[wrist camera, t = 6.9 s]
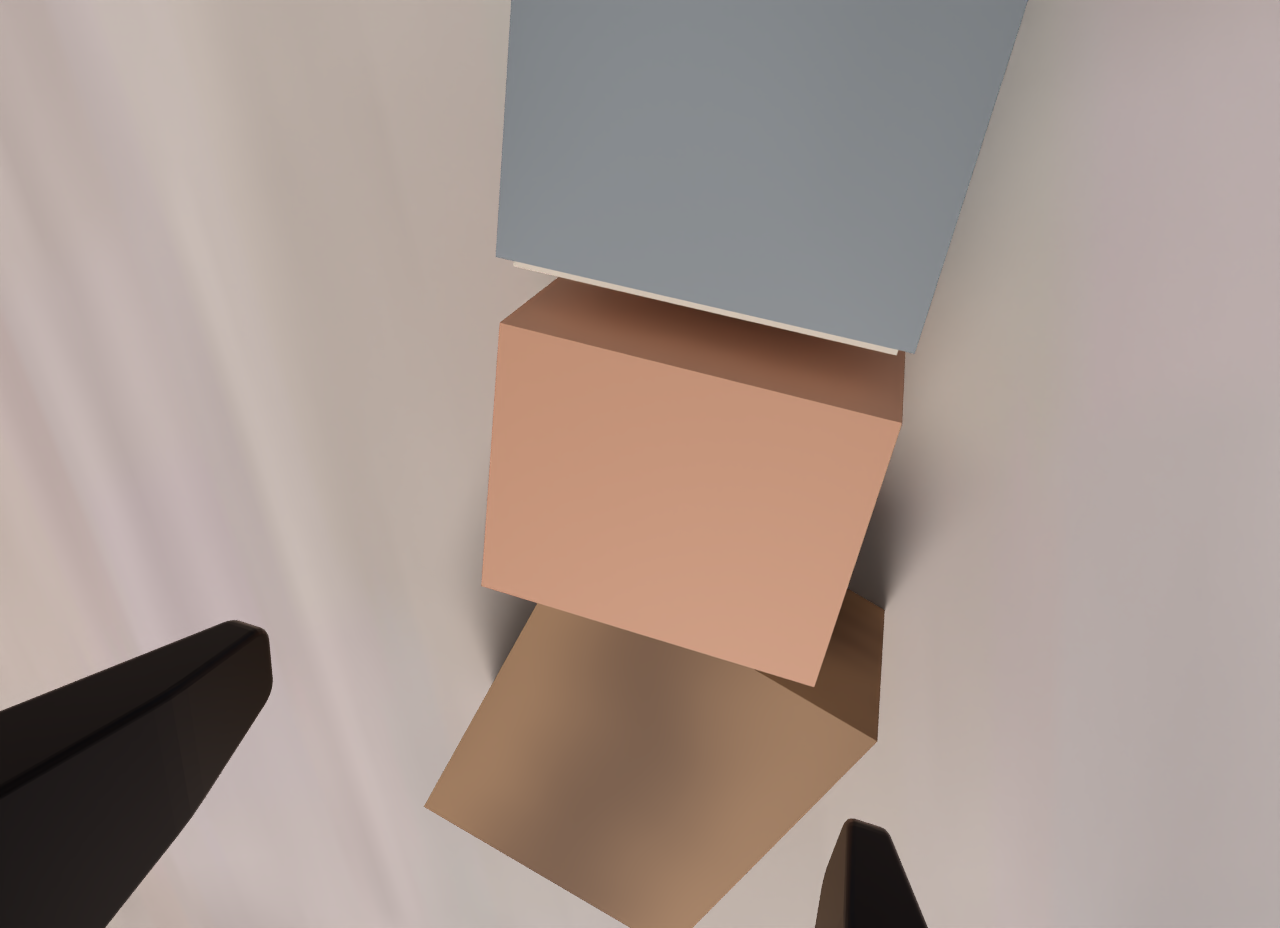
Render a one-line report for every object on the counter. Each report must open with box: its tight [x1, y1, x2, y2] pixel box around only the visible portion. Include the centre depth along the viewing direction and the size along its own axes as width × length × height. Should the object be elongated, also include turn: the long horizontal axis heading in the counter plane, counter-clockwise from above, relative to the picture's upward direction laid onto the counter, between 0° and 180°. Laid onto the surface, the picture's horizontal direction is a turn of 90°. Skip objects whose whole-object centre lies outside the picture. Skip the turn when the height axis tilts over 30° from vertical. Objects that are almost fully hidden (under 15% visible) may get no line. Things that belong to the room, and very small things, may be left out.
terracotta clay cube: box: [481, 277, 905, 687], centre depth 17 cm, size 6×5×6 cm
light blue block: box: [496, 0, 1028, 355], centre depth 14 cm, size 6×5×6 cm
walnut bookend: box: [424, 588, 885, 928], centre depth 21 cm, size 7×9×4 cm
